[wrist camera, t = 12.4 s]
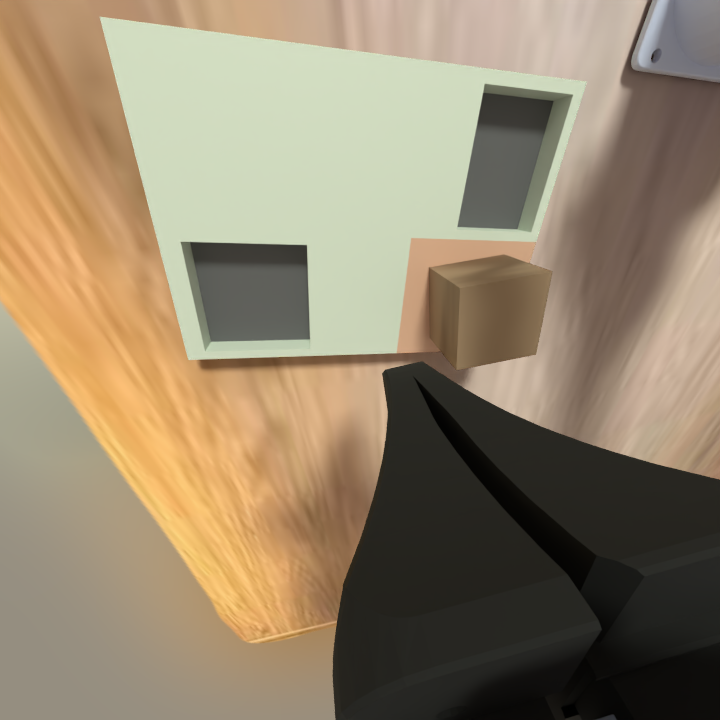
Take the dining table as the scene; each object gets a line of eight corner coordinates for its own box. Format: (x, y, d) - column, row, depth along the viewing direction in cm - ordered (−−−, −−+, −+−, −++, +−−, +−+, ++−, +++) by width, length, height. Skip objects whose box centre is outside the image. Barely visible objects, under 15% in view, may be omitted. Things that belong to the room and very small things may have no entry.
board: (563, 90, 15) (587, 81, 14) (490, 340, 22) (502, 349, 21) (121, 34, 12) (99, 16, 11) (196, 347, 19) (188, 360, 18)
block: (504, 254, 18) (552, 271, 14) (495, 325, 20) (535, 354, 17) (429, 267, 17) (460, 288, 14) (429, 337, 20) (456, 370, 16)
